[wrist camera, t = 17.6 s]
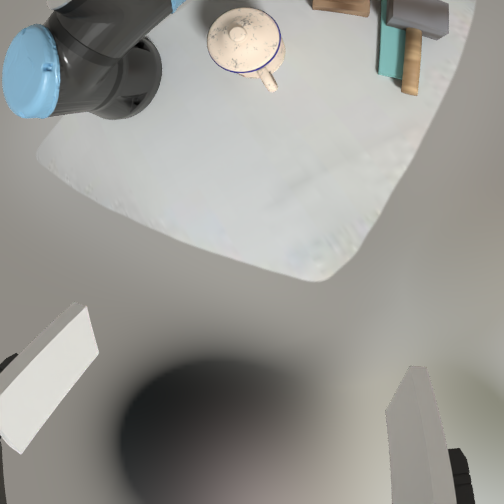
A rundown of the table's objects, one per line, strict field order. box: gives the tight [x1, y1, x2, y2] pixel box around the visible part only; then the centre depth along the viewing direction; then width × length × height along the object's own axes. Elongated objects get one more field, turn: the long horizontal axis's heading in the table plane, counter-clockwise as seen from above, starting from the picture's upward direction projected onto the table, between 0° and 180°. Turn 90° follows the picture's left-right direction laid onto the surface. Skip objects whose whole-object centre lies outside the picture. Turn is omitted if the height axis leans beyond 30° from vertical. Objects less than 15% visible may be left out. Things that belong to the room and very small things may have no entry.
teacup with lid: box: [207, 7, 285, 92], centre depth 35 cm, size 12×9×12 cm
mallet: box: [386, 0, 449, 96], centre depth 32 cm, size 15×8×5 cm, turn 175°
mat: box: [378, 0, 406, 80], centre depth 34 cm, size 6×15×1 cm, turn 176°
